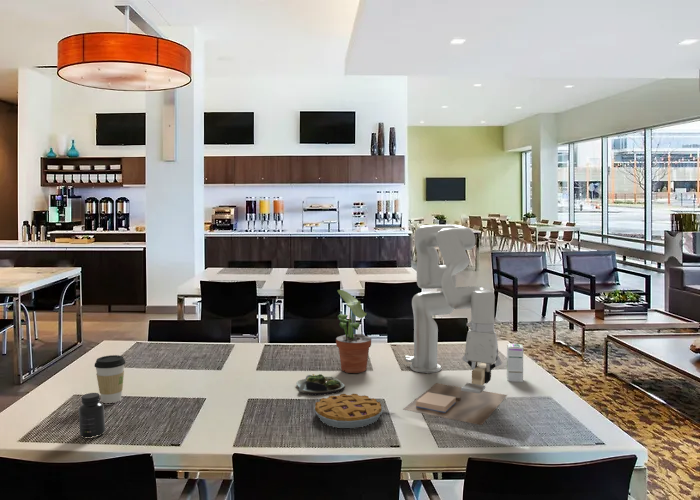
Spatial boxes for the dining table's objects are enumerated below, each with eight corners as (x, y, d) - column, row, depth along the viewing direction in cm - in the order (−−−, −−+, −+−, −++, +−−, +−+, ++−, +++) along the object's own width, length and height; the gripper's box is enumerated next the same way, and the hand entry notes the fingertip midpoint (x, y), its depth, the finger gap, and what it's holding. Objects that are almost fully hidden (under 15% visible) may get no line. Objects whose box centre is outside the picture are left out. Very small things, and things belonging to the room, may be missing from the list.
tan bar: (479, 393, 176) (480, 377, 175) (461, 390, 179) (461, 375, 178) (495, 378, 191) (495, 363, 191) (478, 375, 194) (478, 361, 194)
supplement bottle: (85, 430, 169) (83, 391, 168) (108, 429, 170) (106, 390, 169) (76, 440, 162) (74, 399, 161) (100, 439, 163) (98, 398, 162)
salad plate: (288, 381, 215) (288, 370, 215) (332, 377, 221) (332, 365, 221) (301, 398, 197) (301, 385, 196) (349, 392, 203) (349, 380, 202)
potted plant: (328, 374, 223) (328, 287, 220) (343, 363, 237) (343, 281, 234) (365, 378, 218) (365, 289, 214) (378, 367, 232) (378, 283, 228)
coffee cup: (133, 398, 197) (131, 356, 195) (112, 407, 187) (111, 363, 186) (110, 394, 200) (108, 353, 199) (89, 404, 191) (87, 361, 189)
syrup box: (523, 385, 209) (524, 347, 208) (506, 384, 210) (507, 346, 209) (521, 381, 215) (522, 343, 213) (505, 380, 216) (506, 342, 215)
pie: (332, 437, 165) (332, 420, 164) (303, 412, 184) (303, 397, 184) (395, 423, 175) (395, 407, 174) (361, 401, 194) (361, 387, 194)
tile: (427, 397, 192) (416, 407, 184) (427, 392, 192) (416, 401, 184) (455, 402, 187) (445, 412, 179) (455, 397, 187) (445, 406, 179)
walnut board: (402, 413, 182) (402, 406, 182) (436, 386, 208) (436, 380, 208) (481, 429, 169) (481, 421, 169) (507, 399, 195) (507, 392, 195)
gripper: (454, 326, 187) (454, 381, 188) (504, 332, 179) (503, 388, 180) (462, 322, 193) (461, 375, 195) (510, 327, 185) (509, 382, 187)
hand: (481, 381), depth 188 cm, fingers closed on tan bar, 3 cm apart
